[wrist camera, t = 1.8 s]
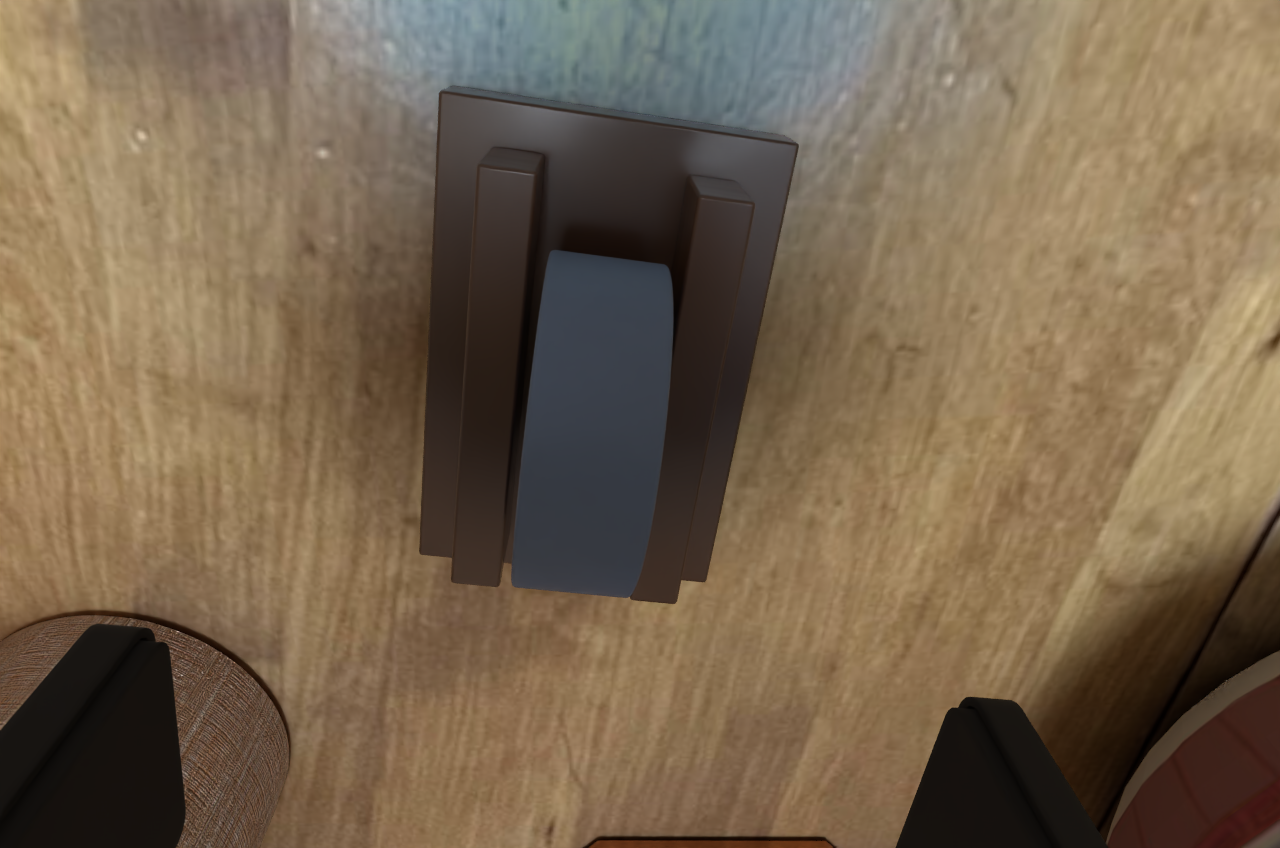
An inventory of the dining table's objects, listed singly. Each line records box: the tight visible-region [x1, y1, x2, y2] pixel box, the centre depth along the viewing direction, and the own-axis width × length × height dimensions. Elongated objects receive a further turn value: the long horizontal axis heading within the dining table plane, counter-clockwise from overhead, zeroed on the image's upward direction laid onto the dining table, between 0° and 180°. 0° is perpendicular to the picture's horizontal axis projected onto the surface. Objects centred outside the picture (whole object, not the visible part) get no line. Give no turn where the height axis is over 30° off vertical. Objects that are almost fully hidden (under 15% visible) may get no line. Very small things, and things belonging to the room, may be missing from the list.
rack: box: [419, 86, 799, 604], centre depth 21 cm, size 12×8×4 cm, turn 172°
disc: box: [511, 250, 673, 598], centre depth 18 cm, size 7×2×7 cm, turn 172°
